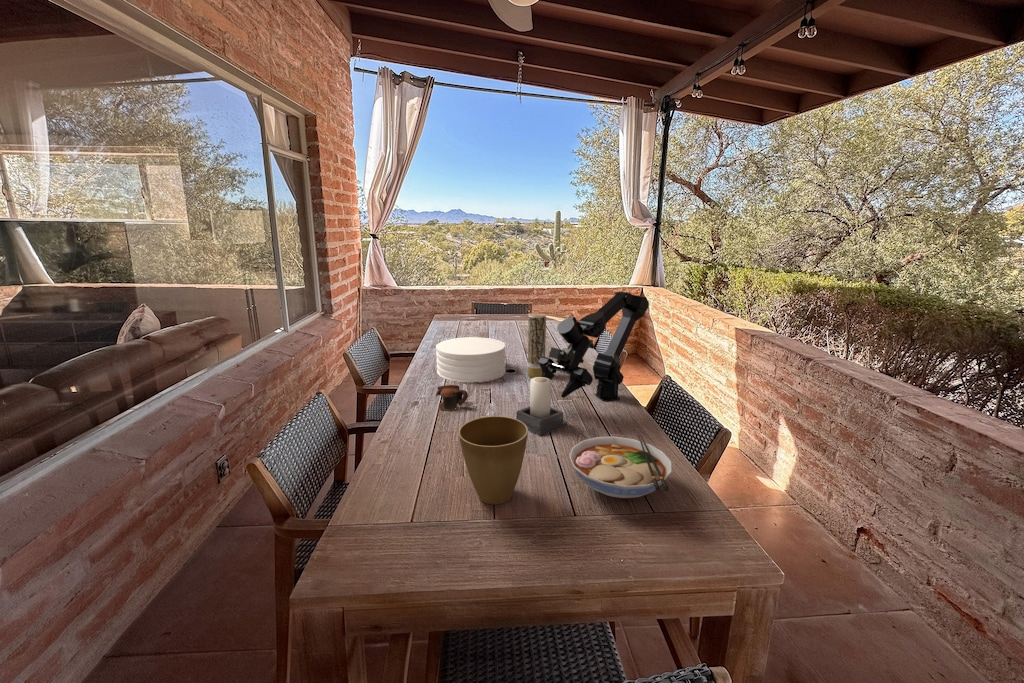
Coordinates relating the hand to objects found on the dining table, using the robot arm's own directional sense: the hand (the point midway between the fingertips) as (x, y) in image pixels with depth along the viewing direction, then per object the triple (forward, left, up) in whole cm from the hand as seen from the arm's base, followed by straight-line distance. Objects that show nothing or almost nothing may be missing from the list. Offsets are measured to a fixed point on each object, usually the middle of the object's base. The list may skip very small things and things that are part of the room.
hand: (551, 393), depth 140 cm
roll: (+4, +2, -8) cm, 9 cm away
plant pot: (+28, +34, -9) cm, 45 cm away
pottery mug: (+27, -21, -9) cm, 35 cm away
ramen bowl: (0, +40, -9) cm, 41 cm away
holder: (+4, +2, -9) cm, 10 cm away
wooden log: (-12, -41, -9) cm, 44 cm away
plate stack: (+12, -55, -9) cm, 57 cm away
